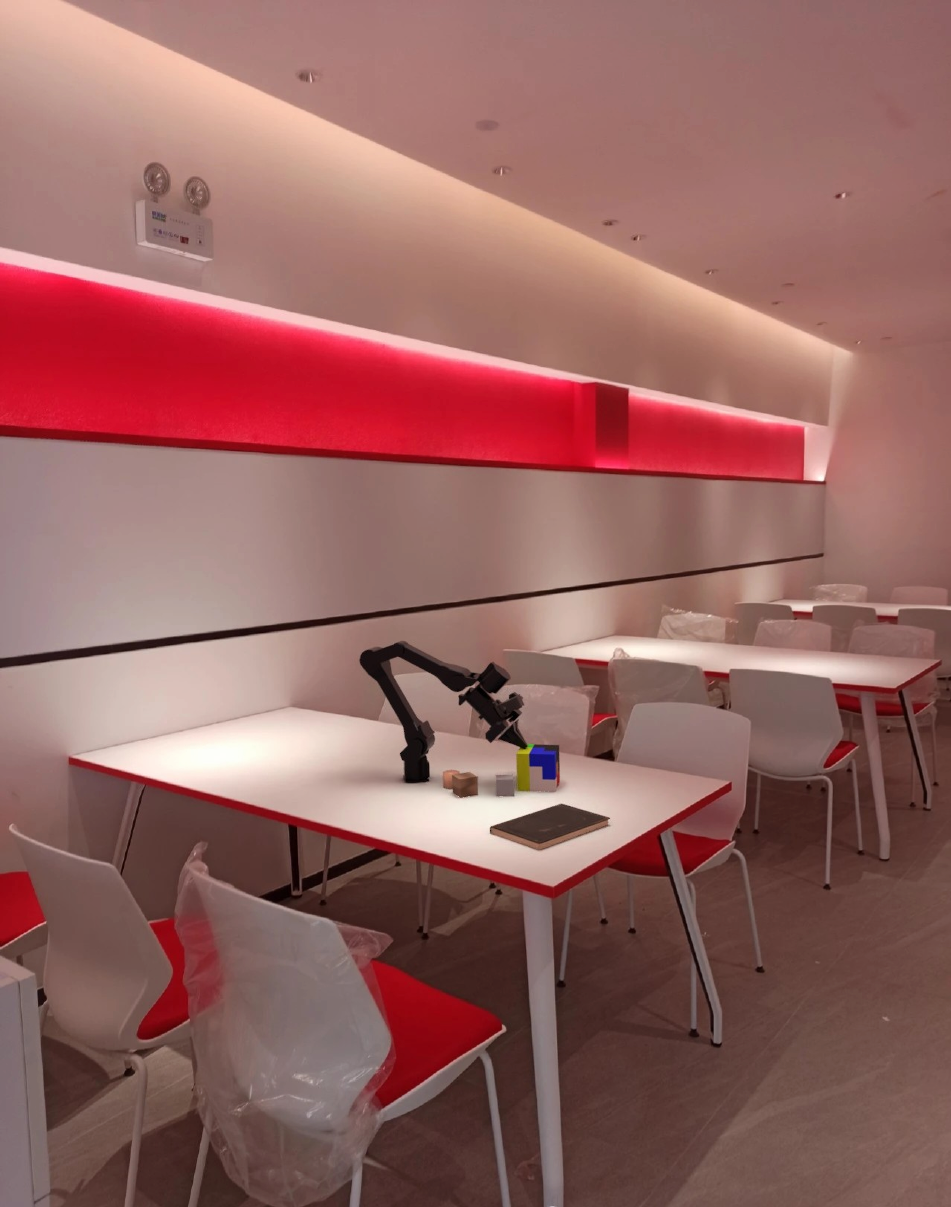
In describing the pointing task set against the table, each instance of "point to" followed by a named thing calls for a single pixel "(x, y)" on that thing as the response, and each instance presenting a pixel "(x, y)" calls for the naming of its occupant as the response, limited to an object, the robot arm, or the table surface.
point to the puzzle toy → (538, 768)
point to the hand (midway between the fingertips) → (526, 747)
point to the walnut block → (465, 784)
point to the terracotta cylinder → (448, 778)
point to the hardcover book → (549, 826)
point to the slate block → (504, 785)
